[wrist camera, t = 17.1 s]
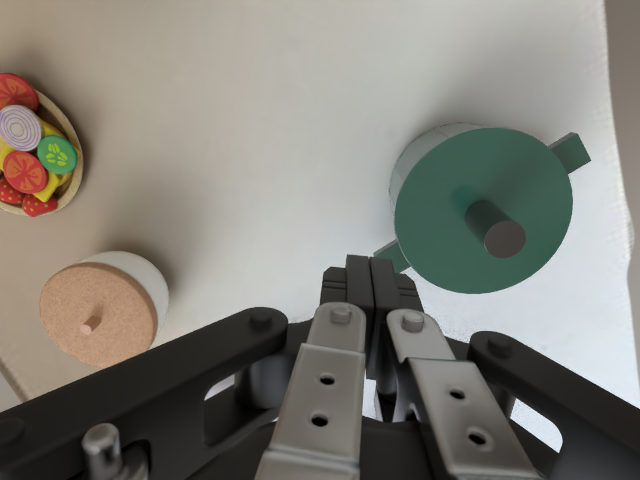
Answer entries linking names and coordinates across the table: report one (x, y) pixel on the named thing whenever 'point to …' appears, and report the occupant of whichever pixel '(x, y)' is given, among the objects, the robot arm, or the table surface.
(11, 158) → the toy food set
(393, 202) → the pot
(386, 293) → the robot arm
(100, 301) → the trinket box
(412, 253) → the lid
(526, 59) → the table surface
